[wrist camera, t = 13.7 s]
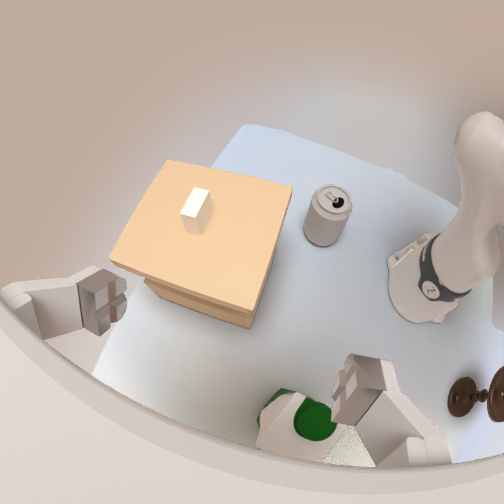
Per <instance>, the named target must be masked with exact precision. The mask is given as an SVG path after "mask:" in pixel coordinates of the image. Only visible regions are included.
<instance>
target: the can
mask: <svg viewBox="0 0 504 504" xmlns="http://www.w3.org/2000/svg"><path fill="white" fill-rule="evenodd" d="M351 212H352V203H351V198H350V195H349V194H348V192H347V191H346V190H345V189H343V188H342V187H340V186H337V185H334V184H328V185H324V186H322V187H321V188H320V189H318V190H316V191H315V193H314V194H313V196H312V200H311V203H310V207H309V210H308V214H307V217H306V221H305V224H304V233H305V235H306V237H307V238H308V239H309V240H310V241H311V242H312V243H314V244H315V245H319V246H329V245H332V244H333V243H334V242H336V240H337V238H338V237H339V235H340V233H341V231H342V229H343V227H344V225H345V223H346V222H347V220H348V218H349V216H350V214H351Z"/></svg>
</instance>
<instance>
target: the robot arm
mask: <svg viewBox="0 0 504 504" xmlns="http://www.w3.org/2000/svg"><path fill="white" fill-rule="evenodd" d="M454 159H455V163H456V166H457V169H458V172H459V176H460V182H461V201H460V206H459V209H458V212H457V214H456V216H455V217H454V219H453V220H452V221H451V223H450V224H449V225H448V226H447V227H446V229H445V230H444V231H443V232H442V233H437V234H435V235H434V236H433V235H431V234H428V233H426V234H422V235H421V236H420V237H418V238H417V239H416V240H415V241H413V242H412V243H410V244H409V245H407V246H405V247H404V248H402V249H401V250H399V251H398V252H396V253H394V254H393V255H391V256H390V257H388V259H387V264H388V269H389V282H388V289H389V295H390V298H391V301H392V303H393V305H394V307H395V309H396V310H397V311H398V313H399V314H400V315H401V316H402V317H404V318H405V319H407V320H408V321H411V322H414V323H424V322H429V321H431V322H434V323H441V322H442V321H443V320H444V318H445V315H446V313H447V312H449V311H451V310H452V309H454V308H455V307H457V305H458V301H459V299H461V298H463V297H464V296H465V295H466V294H468V293H469V292H470V291H471V290H472V288H474V287H475V286H477V285H479V284H480V283H482V282H484V281H485V280H487V279H488V278H490V277H492V276H493V275H494V273H495V272H496V271H497V269H498V267H499V265H500V262H501V256H502V245H501V238H500V234H499V230H498V226H497V224H501V225H502V226H503V227H504V121H503V120H501V119H500V118H498V117H497V116H495V115H494V114H492V113H491V112H479V113H475V114H473V115H471V116H469V117H468V118H467V119H466V120H465V121H464V122H463V123H462V124H461V126H460V127H459V129H458V132H457V134H456V137H455V142H454ZM396 258H397V260H396ZM126 287H127V286H126V281H125V279H124V278H122V277H120V276H118V275H116V274H114V273H112V272H109V271H107V270H105V269H103V268H101V267H98V266H95V265H92V266H90V267H88V268H86V269H84V270H82V271H80V272H78V273H76V274H75V275H73V276H71V277H69V278H67V279H65V278H55V279H43V280H34V281H33V280H32V281H21V282H14V283H12V284H10V285H8V286H6V287H4V288H2V289H0V504H504V453H503V454H499V455H496V456H492V457H487V458H482V459H478V460H473V461H467V462H461V463H454V464H452V462H451V457H450V453H449V449H448V445H447V441H446V437H445V435H444V434H443V433H442V432H441V431H440V430H439V429H438V428H437V427H436V426H435V425H434V424H433V423H432V422H431V421H430V420H429V419H428V418H427V417H426V416H425V415H424V414H423V412H422V411H421V410H420V409H419V408H418V407H417V406H416V405H415V404H414V403H413V402H412V401H411V400H410V399H409V398H408V397H407V396H406V395H405V394H402V393H401V392H400V388H399V384H398V380H397V376H396V373H395V369H394V366H393V363H392V362H391V361H390V360H384V359H376V358H371V357H367V356H362V355H357V354H353V353H351V354H350V355H349V356H348V357H347V359H346V361H345V369H343V370H341V371H339V373H338V375H337V377H336V379H335V382H334V385H333V389H332V398H333V399H334V401H335V403H334V404H333V406H332V415H331V422H335V423H340V424H345V425H351V426H355V427H354V428H355V430H356V431H357V433H358V435H359V437H360V438H361V440H362V442H363V444H364V445H365V447H366V449H367V451H368V452H369V454H370V456H371V458H372V459H373V461H374V463H375V465H376V467H358V466H346V465H336V464H328V463H321V462H314V461H308V460H302V459H297V458H292V457H287V456H282V455H278V454H274V453H269V452H265V451H261V450H258V449H254V448H250V447H247V446H243V445H240V444H237V443H233V442H230V441H227V440H224V439H221V438H218V437H215V436H213V435H210V434H207V433H204V432H202V431H199V430H197V429H194V428H191V427H189V426H187V425H184V424H182V423H179V422H177V421H175V420H173V419H170V418H168V417H166V416H164V415H162V414H160V413H157V412H155V411H153V410H151V409H149V408H147V407H145V406H143V405H141V404H139V403H138V402H136V401H134V400H132V399H130V398H128V397H126V396H125V395H123V394H121V393H119V392H118V391H116V390H114V389H113V388H111V387H109V386H108V385H106V384H104V383H103V382H101V381H99V380H98V379H96V378H95V377H93V376H92V375H90V374H89V373H87V372H86V371H84V370H83V369H81V368H80V367H78V366H77V365H75V364H74V363H73V362H71V361H70V360H68V359H67V358H66V357H64V356H63V355H62V354H60V353H59V352H58V351H56V350H55V349H54V348H53V347H51V346H50V345H49V344H48V343H46V342H45V341H44V340H45V339H49V338H53V337H56V336H59V335H63V334H66V333H70V332H73V331H76V330H80V329H82V328H85V329H87V330H89V331H91V332H93V333H94V334H96V335H98V336H101V335H102V334H103V333H104V332H106V331H107V330H108V329H109V328H110V326H111V323H113V322H118V321H119V320H120V319H121V318H122V317H123V315H124V313H125V311H126V307H127V299H126V297H125V295H124V292H125V291H126V289H127V288H126Z"/></svg>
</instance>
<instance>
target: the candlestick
mask: <svg viewBox="0 0 504 504" xmlns="http://www.w3.org/2000/svg"><path fill="white" fill-rule="evenodd" d="M478 400H479V401H480V402H481V403H483V402H485V401H486V400H487V410H488V414H489V417H490V419H491V420H492V421H493V422H503V421H504V366H503V367H501V368H500V369H499V370H498V371H497V372H496V374H495V375H494V377H493V379H492V382H491V385H490V388H489V392H488V391H487V390H486V389H483V390H482V391H481V392H479V391H476V385H475V382H474V381H473V380H472V379H471V378H469V377H464V378H461V379H459V380H457V381H456V382H455V383H454V385H453V386H452V388H451V390H450V393H449V396H448V409H449V412H450V413H451V415H453V416H455V417H462V416H464V415H466V414H467V413H468V412H469V411H470V410H471V408H472V407H473V405H474V403H475V402H477V401H478Z"/></svg>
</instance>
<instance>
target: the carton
mask: <svg viewBox="0 0 504 504" xmlns="http://www.w3.org/2000/svg"><path fill="white" fill-rule="evenodd" d="M276 247H277V244H276ZM276 247H275V250H274V253H273V256H272V259H271V263H270V266H269V269H268V272H267V275H266V278H265V281H264V284H263V287H262V290H261V293H260V296H259V299H258V302H257V305H256V308H255V311H254V314H253V315H250V314H247V313H243V312H240V311H237V310H234V309H231V308H228V307H225V306H222V305H219V304H216V303H213V302H210V301H207V300H204V299H201V298H199V297H196V296H193V295H190V294H187V293H184V292H182V291H179V290H176V289H174V288H171V287H168V286H165V285H163V284H160V283H158V282H155V281H152V280H150V279H147V278H145V280H144V283H145V284H146V285H147V286H148V287H149V288H151V289H152V290H153V291H154V292H155V293H156V294H157V295H158V296H159V297H160V298H163V299H165V300H168V301H171V302H173V303H176V304H178V305H181V306H184V307H186V308H189V309H192V310H195V311H197V312H200V313H203V314H206V315H208V316H211V317H214V318H217V319H220V320H223V321H226V322H229V323H232V324H235V325H238V326H241V327H244V328H247V329H250V328H251V325H252V322H253V319H254V316H255V313H256V310H257V307H258V304H259V301H260V298H261V295H262V292H263V289H264V286H265V283H266V280H267V277H268V274H269V271H270V268H271V265H272V262H273V259H274V255H275V252H276Z"/></svg>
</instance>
